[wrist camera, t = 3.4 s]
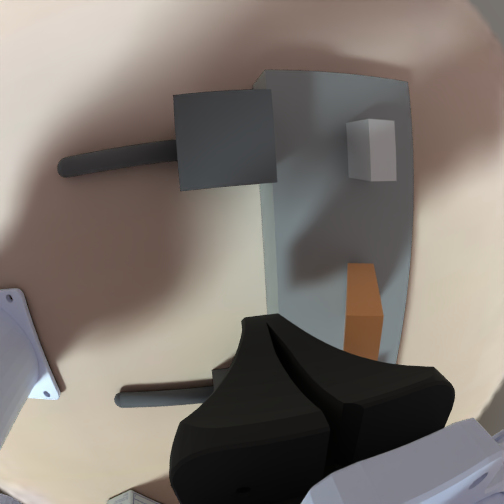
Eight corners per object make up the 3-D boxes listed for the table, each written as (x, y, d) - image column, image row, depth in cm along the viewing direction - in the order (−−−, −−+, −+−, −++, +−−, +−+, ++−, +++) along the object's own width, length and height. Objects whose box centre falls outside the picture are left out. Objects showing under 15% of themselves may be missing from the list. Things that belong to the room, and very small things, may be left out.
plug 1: (65, 197, 14) (4, 219, 9) (59, 140, 14) (-4, 135, 8) (248, 174, 16) (277, 182, 10) (244, 114, 15) (271, 88, 9)
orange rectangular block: (344, 321, 15) (339, 387, 11) (347, 263, 14) (346, 315, 10) (368, 321, 15) (372, 389, 10) (373, 263, 14) (383, 316, 9)
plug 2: (122, 411, 18) (109, 480, 13) (109, 377, 18) (88, 447, 12) (263, 399, 20) (285, 468, 14) (261, 363, 19) (285, 434, 13)
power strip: (272, 413, 20) (289, 467, 15) (253, 85, 14) (275, 55, 10) (365, 392, 21) (396, 436, 16) (377, 91, 15) (433, 75, 11)
